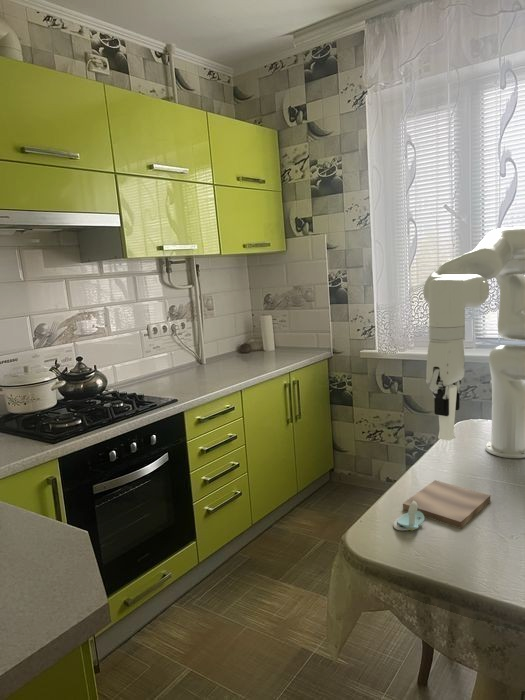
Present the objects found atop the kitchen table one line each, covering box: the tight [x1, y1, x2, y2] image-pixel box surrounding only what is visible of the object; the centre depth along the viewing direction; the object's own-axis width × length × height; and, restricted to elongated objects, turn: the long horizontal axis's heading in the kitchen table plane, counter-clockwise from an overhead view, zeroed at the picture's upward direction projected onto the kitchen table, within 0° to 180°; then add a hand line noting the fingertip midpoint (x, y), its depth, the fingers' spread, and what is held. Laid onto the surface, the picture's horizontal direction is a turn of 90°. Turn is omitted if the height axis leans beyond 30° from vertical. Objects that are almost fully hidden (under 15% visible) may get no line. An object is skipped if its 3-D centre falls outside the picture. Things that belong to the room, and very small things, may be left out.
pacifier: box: [392, 501, 425, 531], centre depth 113 cm, size 7×6×6 cm
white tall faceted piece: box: [437, 382, 457, 441], centre depth 117 cm, size 5×4×15 cm
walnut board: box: [402, 479, 492, 529], centre depth 121 cm, size 16×14×2 cm
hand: (447, 411), depth 118 cm, fingers closed on white tall faceted piece, 4 cm apart
